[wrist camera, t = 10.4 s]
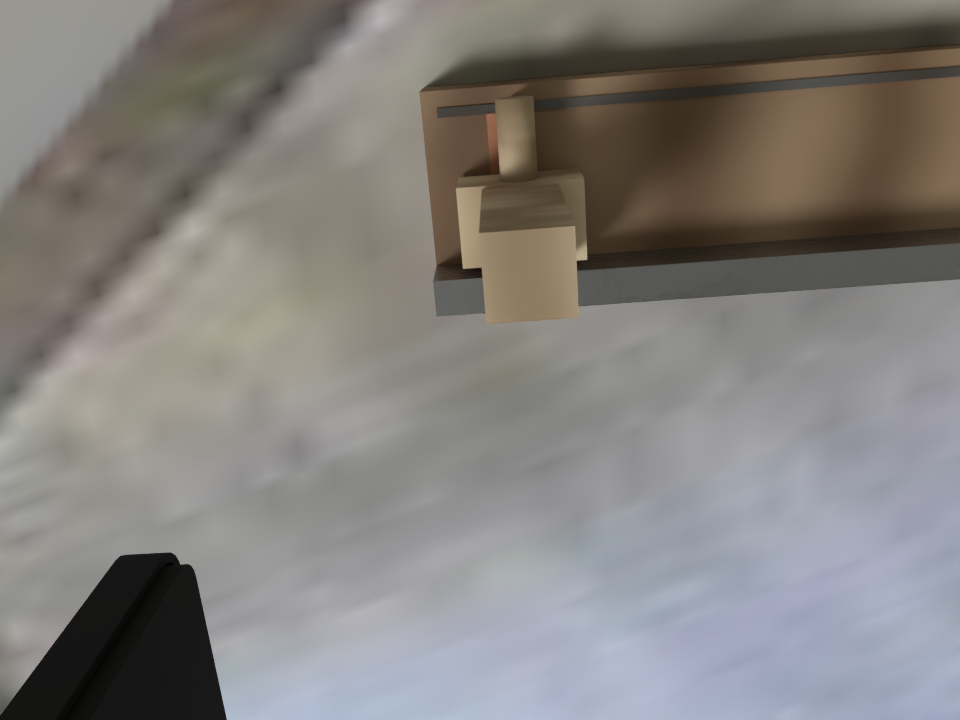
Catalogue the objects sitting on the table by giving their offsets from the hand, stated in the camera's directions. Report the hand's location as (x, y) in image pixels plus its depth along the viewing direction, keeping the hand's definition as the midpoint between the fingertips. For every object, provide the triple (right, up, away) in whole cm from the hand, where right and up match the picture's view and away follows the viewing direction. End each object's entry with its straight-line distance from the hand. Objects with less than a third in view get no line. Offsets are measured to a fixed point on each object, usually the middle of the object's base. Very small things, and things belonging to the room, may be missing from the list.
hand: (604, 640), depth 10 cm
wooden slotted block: (+6, +10, +22) cm, 25 cm away
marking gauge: (0, +9, +20) cm, 22 cm away
